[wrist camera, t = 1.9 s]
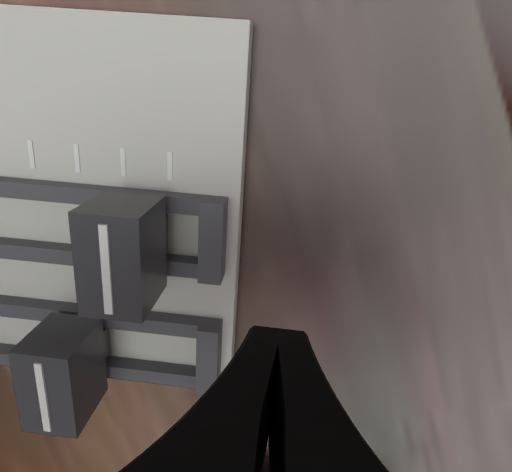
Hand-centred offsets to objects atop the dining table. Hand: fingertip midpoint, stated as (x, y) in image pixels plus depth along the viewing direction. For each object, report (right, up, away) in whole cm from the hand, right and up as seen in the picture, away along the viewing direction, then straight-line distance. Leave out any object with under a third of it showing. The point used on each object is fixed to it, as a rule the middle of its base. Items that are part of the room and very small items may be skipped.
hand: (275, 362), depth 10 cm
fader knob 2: (-5, +3, +8) cm, 10 cm away
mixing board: (-9, +4, +9) cm, 14 cm away
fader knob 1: (-9, -2, +10) cm, 14 cm away
